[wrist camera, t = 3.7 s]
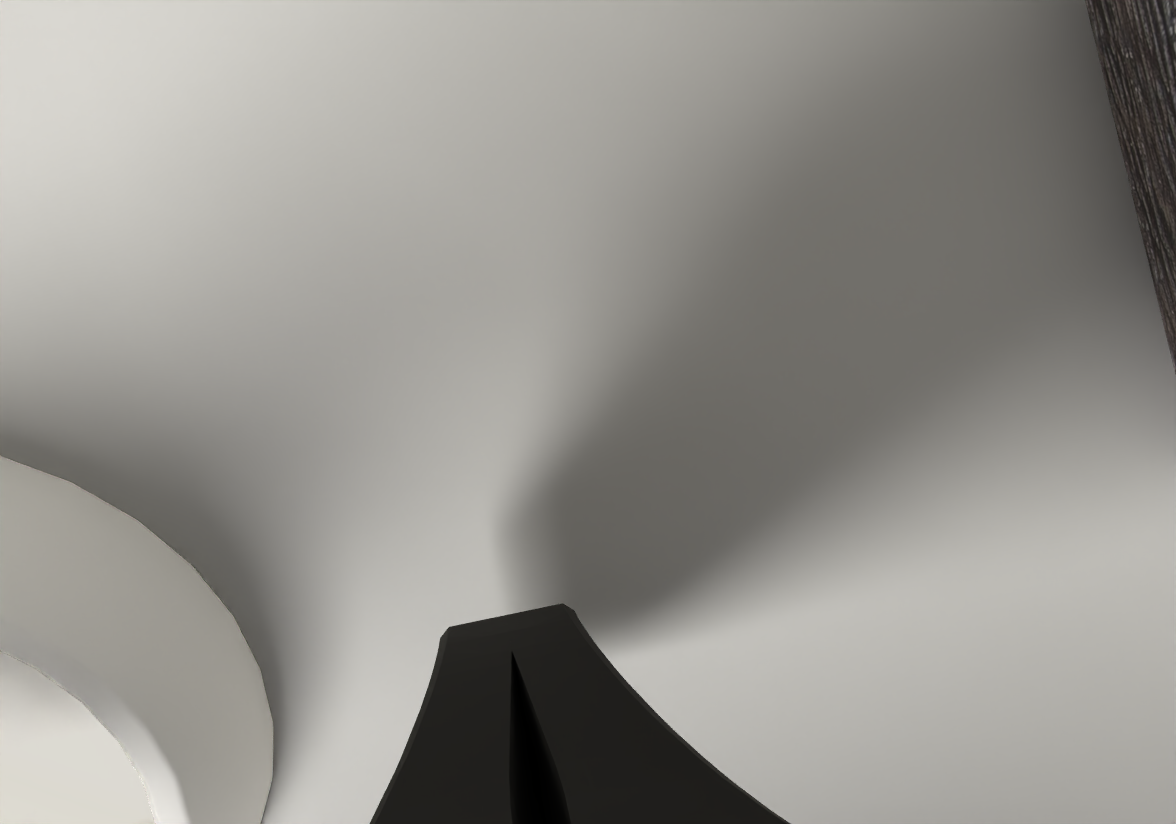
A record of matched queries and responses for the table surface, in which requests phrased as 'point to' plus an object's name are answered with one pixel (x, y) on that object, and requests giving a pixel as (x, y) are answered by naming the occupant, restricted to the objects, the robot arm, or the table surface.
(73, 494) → the hook
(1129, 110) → the picture frame
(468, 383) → the table surface
